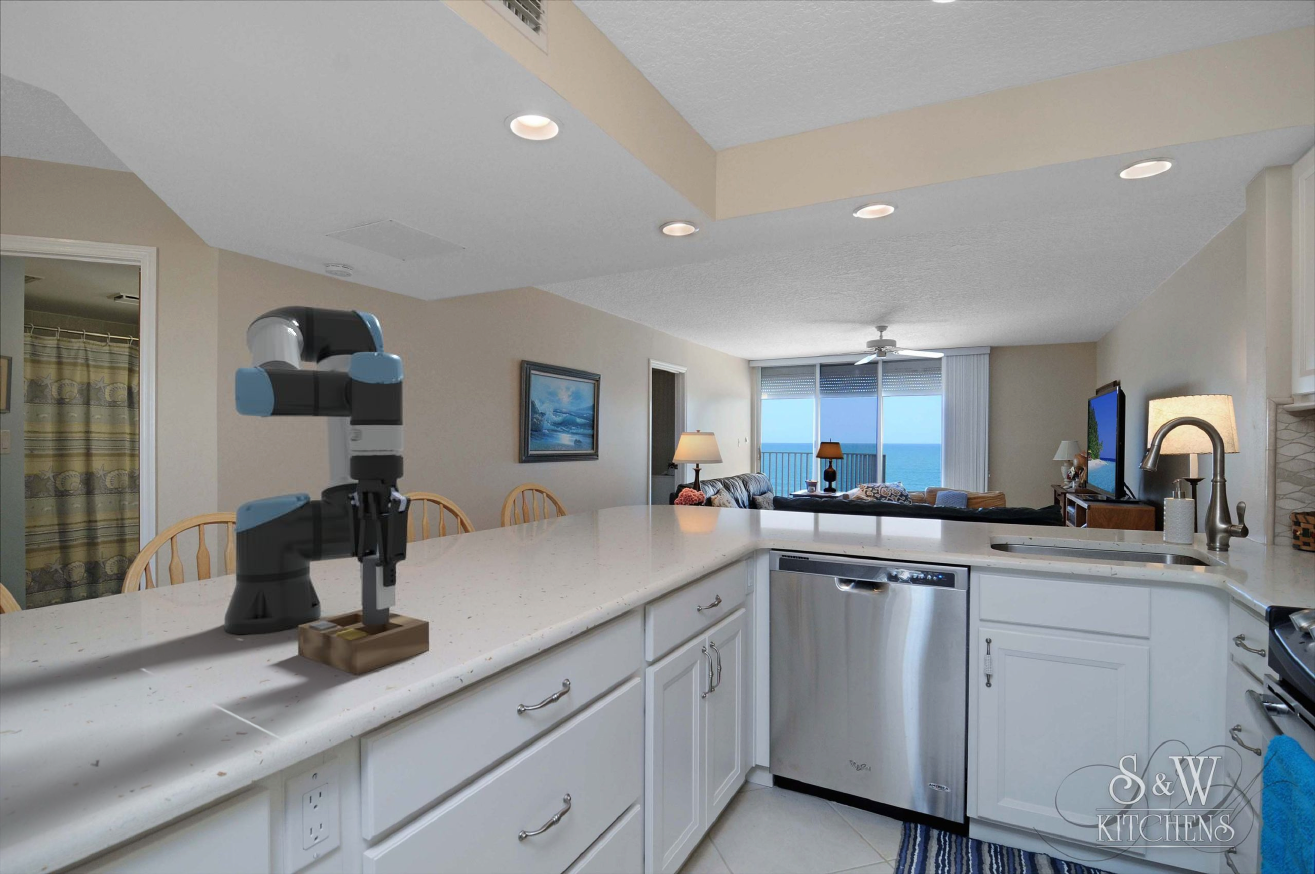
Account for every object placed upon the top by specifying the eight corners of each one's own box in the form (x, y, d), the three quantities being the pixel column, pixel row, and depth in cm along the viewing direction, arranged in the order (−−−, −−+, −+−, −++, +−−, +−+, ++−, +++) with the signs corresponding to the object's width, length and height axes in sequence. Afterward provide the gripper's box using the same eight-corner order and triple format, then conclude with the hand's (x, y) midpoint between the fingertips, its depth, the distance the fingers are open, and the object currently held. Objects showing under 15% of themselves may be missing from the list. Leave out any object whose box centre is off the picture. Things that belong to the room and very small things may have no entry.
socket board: (298, 654, 96) (297, 623, 96) (369, 633, 106) (369, 605, 106) (357, 675, 87) (357, 640, 87) (429, 650, 97) (428, 619, 97)
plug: (380, 617, 97) (381, 554, 97) (394, 621, 95) (394, 556, 95) (357, 623, 94) (357, 557, 94) (370, 627, 92) (371, 560, 92)
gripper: (323, 453, 96) (325, 604, 96) (386, 454, 87) (388, 619, 87) (368, 452, 102) (369, 593, 102) (431, 453, 93) (433, 607, 93)
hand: (378, 605), depth 95 cm, fingers closed on plug, 3 cm apart
